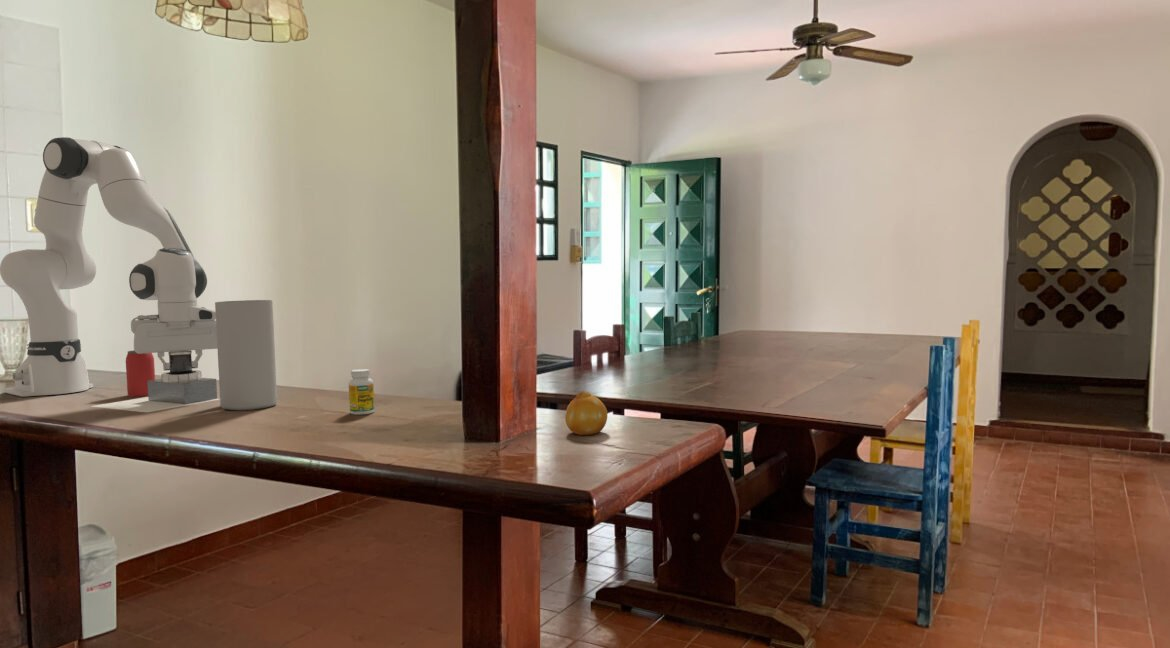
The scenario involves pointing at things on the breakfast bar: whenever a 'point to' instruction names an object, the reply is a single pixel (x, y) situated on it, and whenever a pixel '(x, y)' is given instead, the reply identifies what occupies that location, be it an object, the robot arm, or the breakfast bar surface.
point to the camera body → (182, 388)
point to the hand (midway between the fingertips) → (181, 369)
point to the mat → (144, 405)
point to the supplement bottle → (361, 392)
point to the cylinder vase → (246, 354)
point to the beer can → (139, 373)
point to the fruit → (586, 414)
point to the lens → (180, 362)
